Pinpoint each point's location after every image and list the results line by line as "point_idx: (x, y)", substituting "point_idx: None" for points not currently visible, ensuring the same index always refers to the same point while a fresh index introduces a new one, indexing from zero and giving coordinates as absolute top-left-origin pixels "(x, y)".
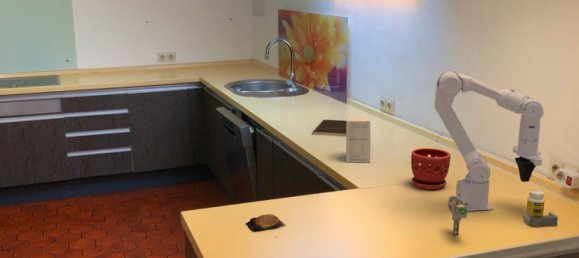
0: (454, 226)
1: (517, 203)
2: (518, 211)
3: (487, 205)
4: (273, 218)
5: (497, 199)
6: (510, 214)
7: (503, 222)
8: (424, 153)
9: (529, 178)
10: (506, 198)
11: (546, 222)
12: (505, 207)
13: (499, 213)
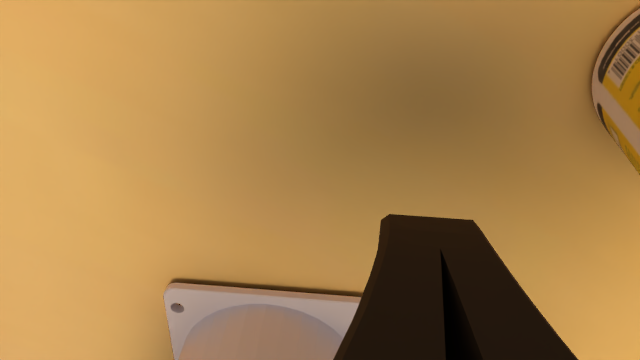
0: None
1: (242, 21)
2: (456, 122)
3: (314, 320)
4: None
5: (124, 155)
6: (499, 218)
7: (624, 330)
8: None
9: (499, 266)
10: (91, 61)
11: None
12: (332, 182)
13: None
